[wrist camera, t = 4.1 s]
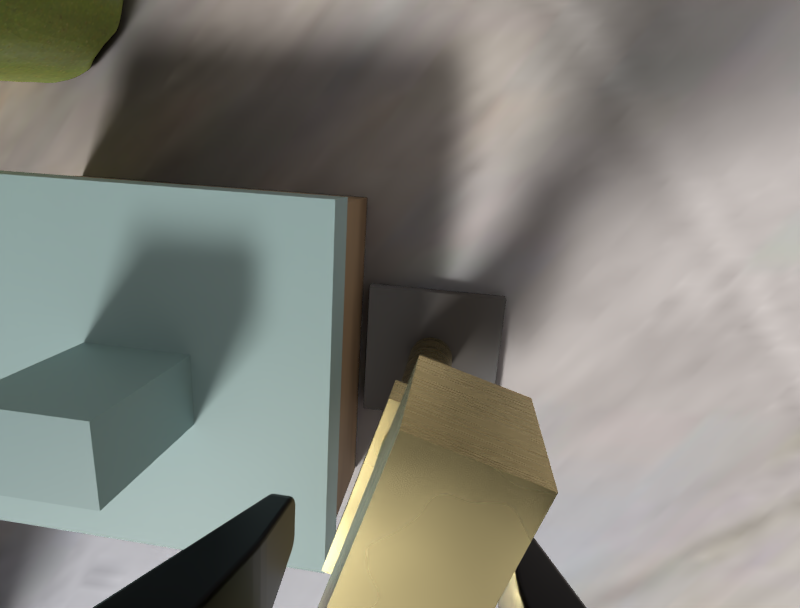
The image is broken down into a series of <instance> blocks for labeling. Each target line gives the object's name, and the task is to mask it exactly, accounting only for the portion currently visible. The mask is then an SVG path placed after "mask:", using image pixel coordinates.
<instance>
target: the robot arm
mask: <svg viewBox="0 0 800 608" xmlns="http://www.w3.org/2000/svg"><path fill="white" fill-rule="evenodd" d="M294 536H295V500H294V498H293V497H292V496H287V495H281V494H270V495H268V496H266V497H265V498H263V499H262V500H260V501H258V502H257V503H255V504H254V505H252V506H251V507H249V508H248V509H246V510H244V511H243V512H241V513H240V514H238V515H237V516H235V517H233V518H232V519H230V520H229V521H227V522H226V523H224V524H223V525H221V526H219V527H218V528H216V529H215V530H213V531H212V532H210V533H208V534H207V535H205V536H204V537H202V538H201V539H199V540H198V541H196V542H194V543H193V544H191V545H190V546H188V547H187V548H185V549H183V550H182V551H180V552H179V553H177V554H176V555H174V556H173V557H171V558H169V559H168V560H166V561H165V562H163V563H162V564H160V565H158V566H157V567H155V568H154V569H152V570H151V571H149V572H148V573H146V574H144V575H143V576H141V577H140V578H138V579H137V580H135V581H133V582H132V583H130V584H129V585H127V586H126V587H124V588H123V589H121V590H119V591H118V592H116V593H115V594H113V595H112V596H110V597H109V598H107V599H105V600H104V601H102V602H101V603H99V604H98V605H96V606H94V607H93V608H272V607H273V604H274V601H275V598H276V595H277V592H278V590H279V587H280V584H281V581H282V578H283V575H284V572H285V569H286V566H287V563H288V560H289V557H290V554H291V551H292V548H293V543H294ZM498 608H586V607H585V605H584V604H583V603H582V601H581V600H580V599H579V597H578V596H577V595H576V593H575V592H574V591H573V589H572V588H571V587H570V585H569V584H568V583H567V581H566V580H565V579H564V577H563V576H562V575H561V573H560V572H559V571H558V569H557V568H556V567H555V565H554V564H553V563H552V561H551V560H550V559H549V557H548V556H547V555H546V553H545V552H544V551H543V549H542V548H541V547H540V545H539V544H538V543H537V541H536V540H535V539H534V537H533V539H532V541H531V543H530V545H529V546H528V548H527V550H526V552H525V554H524V556H523V557H522V559H521V561H520V563H519V565H518V566H517V568H516V570H515V572H514V574H513V576H512V577H511V579H510V581H509V583H508V585H507V586H506V588H505V590H504V592H503V594H502V596H501V597H500V599H499V601H498Z"/></svg>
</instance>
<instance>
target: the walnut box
mask: <svg viewBox="0 0 800 608" xmlns="http://www.w3.org/2000/svg"><path fill="white" fill-rule="evenodd" d="M77 177H87V176H77ZM90 178H101V177H90ZM104 179H114V178H104ZM117 180H127V179H117ZM130 181H140V180H130ZM143 182H153V181H143ZM156 183H167V182H156ZM169 184H180V183H169ZM183 185H193V184H183ZM196 186H206V185H196ZM209 187H219V186H209ZM222 188H233V187H222ZM235 189H246V188H235ZM248 190H259V189H248ZM262 191H272V190H262ZM275 192H285V191H275ZM288 193H299V192H288ZM301 194H312V193H301ZM314 195H325V194H314ZM327 196H338V195H327ZM340 197H348V204H347V232H346V260H345V287H344V315H343V343H342V371H341V398H340V426H339V454H338V482H337V509H336V517H337V514H338V511H339V509H340V506H341V504H342V501H343V498H344V496H345V493H346V490H347V488H348V485H349V483H350V480H351V477H352V475H353V472H354V469H355V449H356V428H357V406H358V385H359V363H360V342H361V321H362V299H363V278H364V256H365V235H366V213H367V198H364V197H351V196H340ZM505 304H506V298H505V296H496V295H486V294H475V293H465V292H454V291H444V290H433V289H423V288H413V287H402V286H392V285H381V284H371V285H370V291H369V311H368V331H367V351H366V370H365V390H364V408H369V409H377V410H384V408H385V406H386V403H387V401H388V398H389V396H390V393H391V390H392V388H393V385H394V383H395V380H398V381H400V382H401V381H402V378H403V374H404V371H405V368H406V365H407V362H408V359H409V355H410V352H411V349H412V347H413V346H414V345H415V343H417V342H418V341H419V340H421V339H424V338H437V339H439V340H441V341H443V342H444V343H446V344H447V346H448V347H449V348H450V350H451V353H452V366H451V367H452V368H455V369H457V370H460V371H463V372H465V373H468V374H470V375H473V376H475V377H478V378H481V379H483V380H486V381H488V382H491V383H493V384H495V381H496V373H497V365H498V358H499V350H500V342H501V335H502V327H503V319H504V311H505Z"/></svg>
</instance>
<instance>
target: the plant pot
mask: <svg viewBox="0 0 800 608" xmlns="http://www.w3.org/2000/svg"><path fill="white" fill-rule="evenodd" d="M122 5H123V0H0V81H16V82H42V83H54V82H60V81H65V80H69V79H72V78H75V77H77V76H79V75H81V74H82V73H84V72H86V71H87V70H88V69H90V67H91V64H92V62H93V60H94V58H95V57H96V55H97V54H98V52H99V51H100V50H101V48H102V47H103V46H104V44H105V43H106V42H107V41H108V40H109V39H110V38H111V36H112V35H113V34H114V33H115V32H116V30H117V28H118V25H119V22H120V17H121V12H122Z"/></svg>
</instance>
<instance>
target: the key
mask: <svg viewBox="0 0 800 608" xmlns="http://www.w3.org/2000/svg"><path fill="white" fill-rule="evenodd" d="M451 366H452V353H451V350H450V348H449V347H448V346H447V344H446V343H444V342H443V341H441V340H439V339H437V338H424V339H421V340H419V341H418V342H417V343H415V345H414V346H413V347H412V349H411V352H410V355H409V359H408V362H407V365H406V368H405V371H404V374H403V378H402V381H401V382H400V381H398V380H395V383H394V385H393V388H392V390H391V393H390V396H389V398H388V401H387V403H386V406H385V408H384V411H383V413H382V416H381V419H380V421H379V424H378V426H377V429H376V431H375V434H374V436H373V439H372V441H371V444H370V447H369V449H368V452H367V454H366V457H365V459H364V462H363V464H362V467H361V470H360V472H359V475H358V477H357V480H356V482H355V485H354V487H353V490H352V493H351V495H350V498H349V500H348V503H347V505H346V508H345V510H344V513H343V515H342V518H341V521H340V523H339V526H338V528H337V531H336V533H335V536H334V538H333V541H332V544H331V546H330V549H329V552H328V555H327V557H326V560H325V563H324V566H323V568H322V571H324V572H326V573H329V574H331V576H330V579H329V581H328V584H327V586H326V589H325V591H324V594H323V596H322V599H321V601H320V603H319V606H318V608H495V607H496V605H497V603H498V601H499V599H500V597H501V596H502V594H503V592H504V590H505V588H506V586H507V585H508V583H509V581H510V579H511V577H512V576H513V574H514V572H515V570H516V568H517V566H518V565H519V563H520V561H521V559H522V557H523V556H524V554H525V552H526V550H527V548H528V546H529V545H530V543H531V541H532V539H533V537H534V535H535V534H536V532H537V530H538V528H539V526H540V525H541V523H542V521H543V519H544V517H545V515H546V514H547V512H548V510H549V508H550V506H551V505H552V503H553V501H554V499H555V497H556V495H557V494H558V491H557V487H556V484H555V480H554V477H553V473H552V470H551V466H550V463H549V459H548V456H547V452H546V448H545V445H544V441H543V438H542V434H541V431H540V427H539V424H538V420H537V417H536V413H535V410H534V406H533V403H532V399H531V398H529V397H527V396H524V395H522V394H519V393H517V392H514V391H511V390H509V389H506V388H504V387H501V386H499V385H496V384H493V383H491V382H488V381H486V380H483V379H481V378H478V377H475V376H473V375H470V374H468V373H465V372H463V371H460V370H457V369H455V368H452V367H451Z"/></svg>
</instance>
